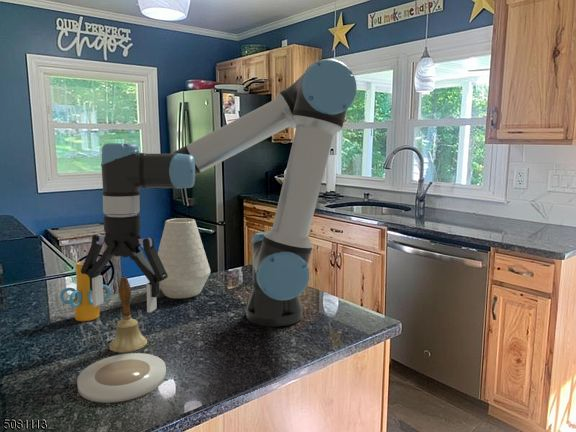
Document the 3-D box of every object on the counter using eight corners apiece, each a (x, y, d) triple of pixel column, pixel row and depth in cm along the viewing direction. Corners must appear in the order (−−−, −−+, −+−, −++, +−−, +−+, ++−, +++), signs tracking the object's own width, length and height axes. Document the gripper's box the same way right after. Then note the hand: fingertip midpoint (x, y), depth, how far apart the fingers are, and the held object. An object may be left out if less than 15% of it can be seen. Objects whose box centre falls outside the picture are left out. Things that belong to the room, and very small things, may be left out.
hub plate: (180, 364, 91) (180, 357, 90) (137, 408, 75) (136, 399, 75) (112, 356, 94) (111, 349, 94) (57, 395, 79) (57, 387, 78)
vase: (190, 281, 149) (189, 214, 146) (222, 293, 137) (220, 220, 134) (143, 292, 137) (140, 220, 133) (172, 306, 125) (170, 227, 121)
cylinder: (90, 328, 109) (86, 270, 107) (53, 324, 111) (49, 267, 109) (118, 311, 121) (115, 258, 119) (85, 308, 123) (81, 256, 121)
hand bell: (124, 356, 94) (121, 284, 92) (101, 347, 99) (97, 278, 96) (155, 342, 101) (152, 275, 99) (131, 334, 106) (128, 270, 103)
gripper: (182, 215, 96) (183, 307, 99) (84, 209, 102) (87, 296, 105) (165, 220, 89) (166, 319, 92) (60, 213, 95) (65, 307, 98)
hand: (124, 307), depth 99 cm, fingers open, 13 cm apart
